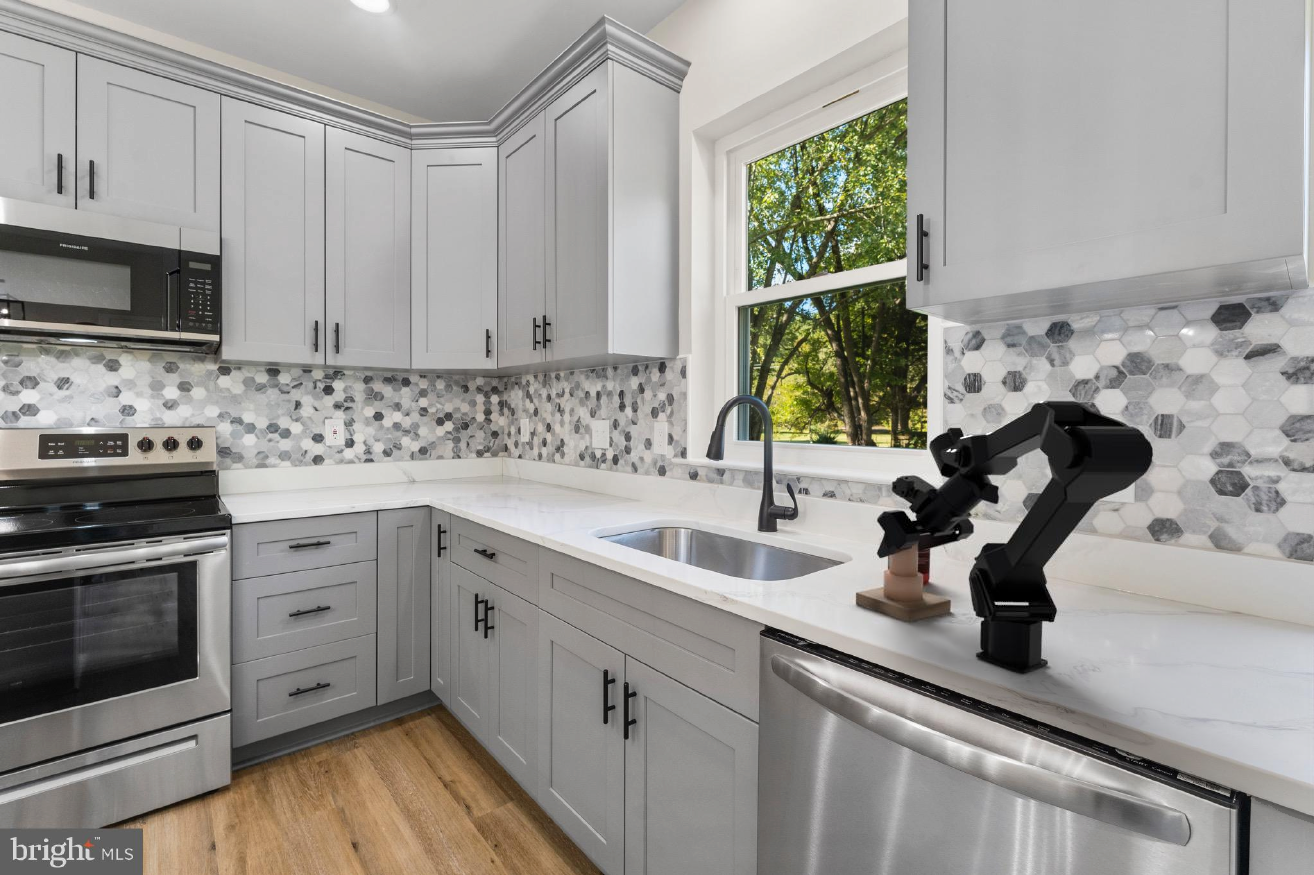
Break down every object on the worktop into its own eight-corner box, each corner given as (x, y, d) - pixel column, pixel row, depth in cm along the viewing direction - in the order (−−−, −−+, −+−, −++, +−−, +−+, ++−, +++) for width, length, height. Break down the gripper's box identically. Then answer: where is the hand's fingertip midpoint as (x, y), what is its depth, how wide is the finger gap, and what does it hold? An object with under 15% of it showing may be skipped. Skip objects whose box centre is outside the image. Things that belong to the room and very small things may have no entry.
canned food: (891, 574, 129) (891, 522, 129) (931, 579, 125) (932, 526, 125) (884, 582, 123) (885, 528, 122) (926, 588, 118) (928, 532, 118)
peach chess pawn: (930, 598, 105) (931, 535, 105) (906, 603, 102) (907, 538, 101) (899, 589, 110) (900, 529, 110) (875, 594, 107) (876, 532, 107)
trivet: (950, 611, 104) (950, 599, 104) (908, 621, 99) (908, 609, 99) (896, 594, 114) (896, 584, 114) (855, 603, 108) (855, 592, 108)
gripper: (959, 459, 107) (904, 512, 117) (887, 462, 97) (834, 520, 107) (1002, 509, 100) (940, 561, 110) (930, 518, 91) (869, 574, 101)
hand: (896, 553), depth 107 cm, fingers open, 9 cm apart
